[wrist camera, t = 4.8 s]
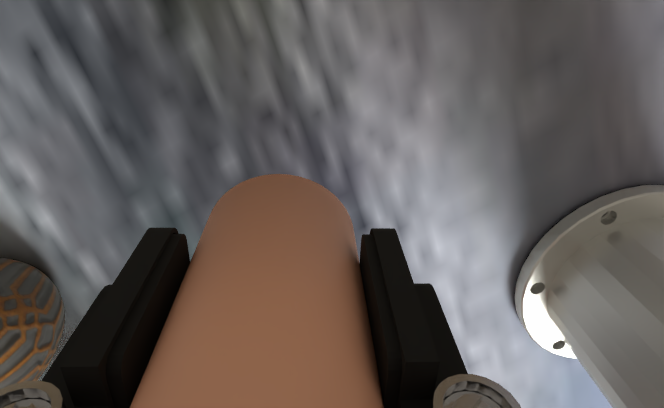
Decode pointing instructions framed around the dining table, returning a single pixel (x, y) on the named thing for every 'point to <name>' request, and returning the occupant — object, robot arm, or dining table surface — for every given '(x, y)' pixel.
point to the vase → (27, 322)
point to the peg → (268, 308)
